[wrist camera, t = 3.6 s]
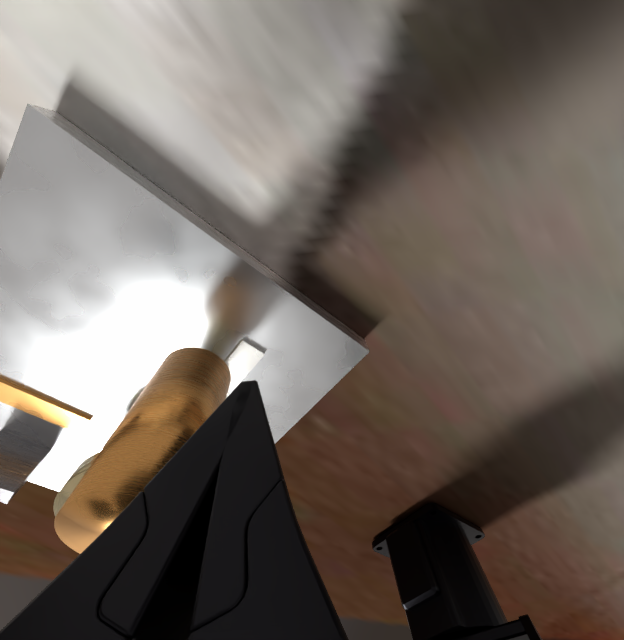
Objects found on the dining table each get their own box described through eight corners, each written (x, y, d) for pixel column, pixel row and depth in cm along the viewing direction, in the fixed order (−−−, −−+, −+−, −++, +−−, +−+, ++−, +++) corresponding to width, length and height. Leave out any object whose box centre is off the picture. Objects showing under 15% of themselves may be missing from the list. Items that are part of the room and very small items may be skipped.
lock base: (364, 338, 15) (383, 383, 12) (187, 515, 21) (168, 578, 17) (55, 111, 10) (-54, 82, 7) (-65, 421, 16) (-157, 485, 13)
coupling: (188, 540, 16) (140, 706, 11) (62, 514, 15) (-60, 694, 10) (286, 377, 12) (281, 532, 7) (119, 312, 10) (-56, 452, 5)
